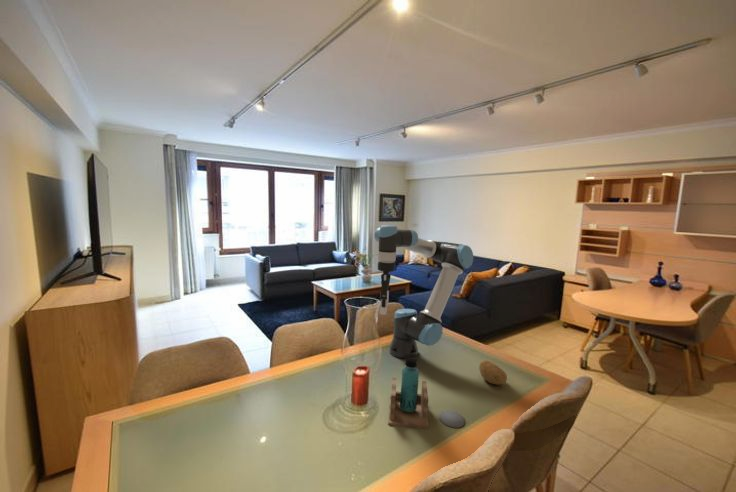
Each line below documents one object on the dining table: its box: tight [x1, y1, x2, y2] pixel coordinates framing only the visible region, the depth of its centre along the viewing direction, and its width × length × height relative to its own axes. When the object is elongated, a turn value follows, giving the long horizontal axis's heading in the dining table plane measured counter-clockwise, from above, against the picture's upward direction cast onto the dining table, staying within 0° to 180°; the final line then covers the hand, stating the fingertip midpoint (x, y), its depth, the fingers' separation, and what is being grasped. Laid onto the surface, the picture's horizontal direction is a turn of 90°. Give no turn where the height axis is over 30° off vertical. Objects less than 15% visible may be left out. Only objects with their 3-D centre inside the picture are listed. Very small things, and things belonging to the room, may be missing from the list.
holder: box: [387, 377, 429, 430], centre depth 119 cm, size 16×14×10 cm
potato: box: [478, 359, 508, 386], centre depth 144 cm, size 10×14×8 cm
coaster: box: [438, 409, 466, 429], centre depth 117 cm, size 9×9×1 cm
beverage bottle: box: [400, 357, 420, 412], centre depth 119 cm, size 6×7×20 cm
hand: (384, 309), depth 140 cm, fingers open, 13 cm apart
